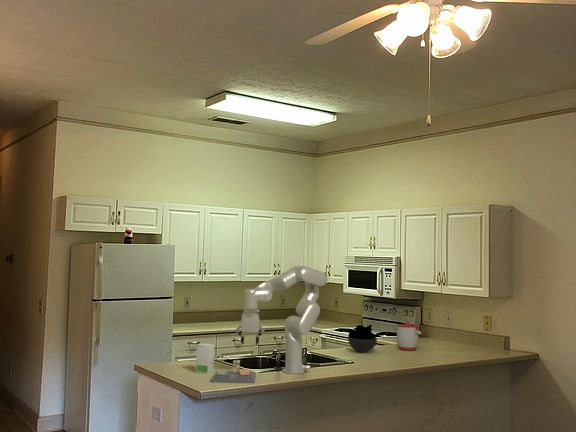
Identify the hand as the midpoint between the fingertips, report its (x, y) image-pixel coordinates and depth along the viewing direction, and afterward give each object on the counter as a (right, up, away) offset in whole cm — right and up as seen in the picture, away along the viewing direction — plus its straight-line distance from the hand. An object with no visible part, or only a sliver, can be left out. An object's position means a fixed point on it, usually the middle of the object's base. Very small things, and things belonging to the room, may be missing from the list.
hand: (249, 344), depth 335 cm
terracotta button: (-2, -13, -12) cm, 18 cm away
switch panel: (-8, -17, -7) cm, 20 cm away
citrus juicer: (+107, -25, +100) cm, 149 cm away
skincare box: (-26, -18, +9) cm, 33 cm away
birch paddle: (-7, -15, -1) cm, 17 cm away
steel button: (-14, -13, -12) cm, 23 cm away
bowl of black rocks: (+72, -24, +85) cm, 114 cm away
